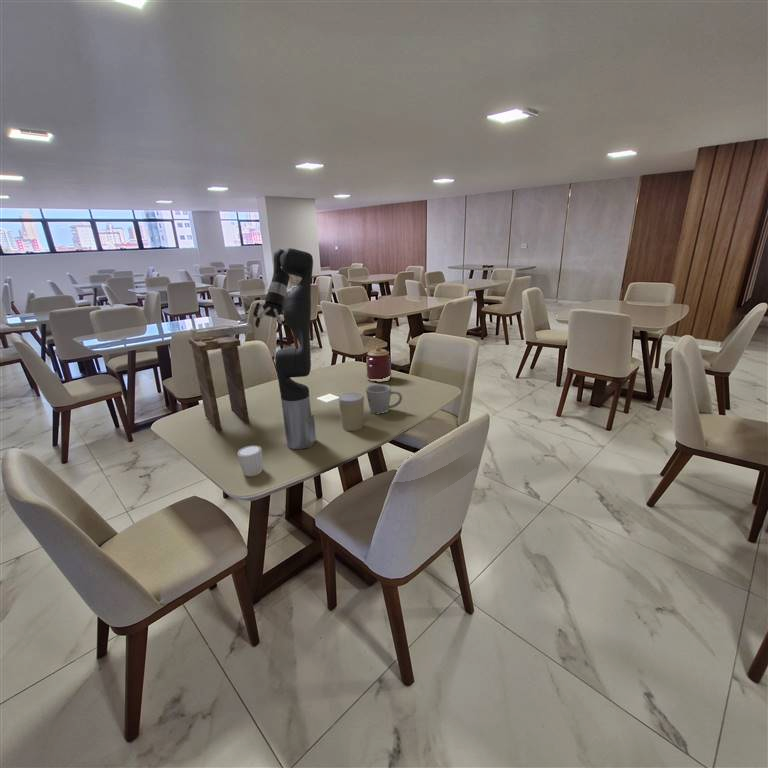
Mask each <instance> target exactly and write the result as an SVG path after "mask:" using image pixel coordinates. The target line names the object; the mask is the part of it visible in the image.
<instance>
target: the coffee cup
mask: <svg viewBox="0 0 768 768" xmlns="http://www.w3.org/2000/svg"><path fill="white" fill-rule="evenodd" d="M364 400H365V398H364V395H363V394H362V393H357V392H347V393H343V394H341V395H339V397H338V400H337V401H338V403H339V405H338V406H339V411H340V412H339V413H340V419H341V425H342V429H343V430H345V431H347V432H355V431H356V432H357V431H360V430H362V429H363V428H362V427H364V411H365V410H364V407H365V405H364V402H365V401H364ZM359 429H360V430H359Z"/></svg>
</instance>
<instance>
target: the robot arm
mask: <svg viewBox="0 0 768 768" xmlns="http://www.w3.org/2000/svg"><path fill="white" fill-rule="evenodd" d="M313 269H314V259H313V255H312V254H311V253H309V252H307V251H303V250H299V249H296V248H293V247H292V248H291V247H290V248H286V249H282V248H281V249H280V248H278V249H277V250H275V252H274V253H273V274H272V279H271V283H270V285H269V287H268V289H267V294H266V298H265V301H264V303H263V304H261V303H260V302H256V305H255V307H254V311H253V313H252V315H253V317H255V318H256V320H255V324H254V325H255V327H256V328H258V329H259V327H260V324H261V319H262V318H264V317H265V316H267V317H270V318H272V319H276V320H277V322H278V324H277V328H276V331H275V332H276V333H277V334H279V333H280V332H281V330H282V326H284V325H285V326H286V325H287V326H288V328H289V329H290V331H291V332H292V333H293V334H294V335H295V338H296V339H297V341H298V343H299V347H298V348H282V349H278V350H277V351H276V352H275V355H274V356H275V357H274V363H275V370H276V376H277V379H278V380H277V381H278V387H279V393H280V399H281V409H282V417H283V423H284V424H283V425H284V431H285V440H286V446H287V448H289V449H293V450H301V449H305V448H309V449H310V448H311V447H312V446H313V445H314V443H315V442H317V441H316V440H317V434H316V427H315V426H316V425H315V415H314V414H312V408H311V396H310V389H309V387H308V386H307V385H306V384H303V383H300V382H297V381H296V380H293V379H292V378H304V377H308V376H309V375H310V373H311V369H312V368H311V367H312V360H311V359H312V357H311V337H310V336H311V320H312V319H311V317H312V314H311V313H312V301H311V297H312V295H311V294H312V278H313ZM291 275H292V276H295V277H299V278H301V280H300V281H299V283H298V284H297V285H296V286H295V287H293V288H292V289H291V290H290V291H289V293H288V294H287V292H288V290H287V289H288V286H289V283H290V282H289V281H290V279H291V278H290V277H291ZM261 309H263V311H261V312H260V313H259V310H261ZM258 313H259V314H258ZM282 314H283V320H282V319H281V316H280V315H282Z"/></svg>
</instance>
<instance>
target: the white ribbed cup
mask: <svg viewBox="0 0 768 768" xmlns="http://www.w3.org/2000/svg"><path fill="white" fill-rule="evenodd" d="M262 452H263V449H262V447H261V446H259V445H247V446H244V447H241V448H240V449H239V450H237V456H238V457H237V458H238V461H239V465H240V468H241V470H242V474H243V475H244V476H246V477H254V476H257V475H260V474H261V473H262V471H263V453H262Z"/></svg>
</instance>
